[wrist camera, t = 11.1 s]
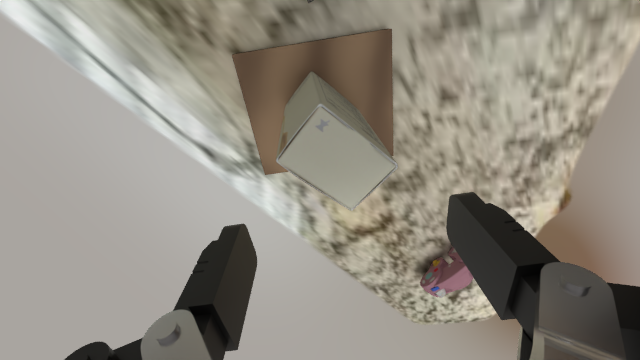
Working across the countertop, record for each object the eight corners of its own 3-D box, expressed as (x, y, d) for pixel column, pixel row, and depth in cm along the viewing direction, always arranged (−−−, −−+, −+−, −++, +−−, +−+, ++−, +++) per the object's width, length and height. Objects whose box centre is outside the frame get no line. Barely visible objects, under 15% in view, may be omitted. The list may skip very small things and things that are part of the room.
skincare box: (283, 106, 26) (267, 159, 15) (311, 68, 24) (315, 97, 14) (334, 145, 28) (351, 215, 17) (363, 112, 26) (401, 167, 16)
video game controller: (466, 224, 38) (478, 244, 31) (491, 247, 37) (509, 273, 31) (413, 264, 41) (414, 290, 35) (435, 286, 41) (441, 317, 34)
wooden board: (387, 28, 24) (391, 28, 23) (389, 150, 30) (393, 155, 29) (236, 53, 25) (231, 54, 23) (266, 168, 31) (265, 174, 29)
